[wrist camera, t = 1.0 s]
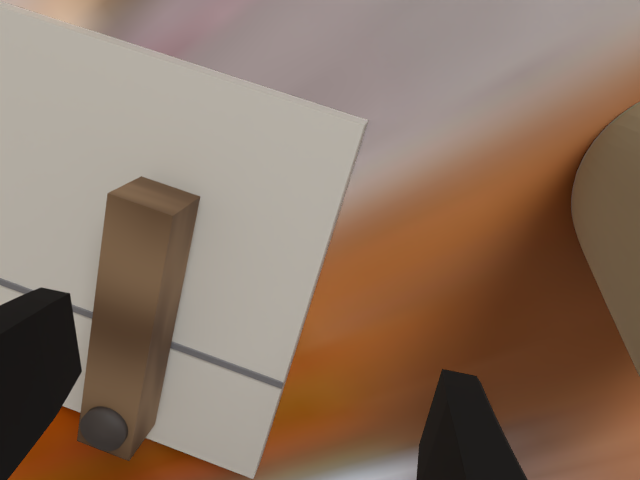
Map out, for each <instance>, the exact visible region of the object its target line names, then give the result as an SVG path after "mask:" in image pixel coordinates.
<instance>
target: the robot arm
mask: <svg viewBox="0 0 640 480" xmlns="http://www.w3.org/2000/svg"><path fill="white" fill-rule="evenodd" d="M81 372H82V368H81V362H80V355H79V349H78V342H77V336H76V329H75V322H74V316H73V309H72V303H71V296H70V293H66V292H61V291H56V290H52V289H47V288H42V287H41V288H38V289H36V290H33V291H31V292H28V293H26V294H24V295H22V296H19V297H17V298H15V299H13V300H11V301H8V302H6V303H4V304H2V305H0V480H7V479H8V478H9V477H10V475H11V474H12V473H13V472H14V470H15V469H16V468H17V467H18V465H19V464H20V463H21V461H22V460H23V459H24V458H25V456H26V455H27V454H28V452H29V451H30V450H31V448H32V447H33V446H34V445H35V443H36V442H37V441H38V439H39V438H40V437H41V435H42V434H43V433H44V431H45V430H46V429H47V427H48V426H49V425H50V423H51V422H52V421H53V419H54V418H55V417H56V415H57V413H58V412H59V410H60V408H61V407H62V405H63V404H64V402H65V400H66V399H67V397H68V395H69V393H70V392H71V390H72V388H73V386H74V385H75V383H76V381H77V379H78V378H79V376H80V374H81ZM417 480H527V478H526V476H525V474H524V472H523V470H522V468H521V466H520V465H519V463H518V461H517V459H516V457H515V455H514V453H513V451H512V449H511V447H510V445H509V443H508V441H507V439H506V437H505V435H504V433H503V431H502V429H501V427H500V425H499V422H498V420H497V418H496V416H495V414H494V412H493V409H492V407H491V405H490V403H489V401H488V398H487V396H486V394H485V391H484V389H483V387H482V384H481V382H480V381H479V379H478V378H477V376H473V375H468V374H463V373H459V372H454V371H449V370H444V369H442V372H441V375H440V378H439V382H438V385H437V388H436V391H435V395H434V398H433V401H432V405H431V408H430V411H429V415H428V418H427V421H426V424H425V428H424V431H423V434H422V438H421V441H420V444H419V455H418V468H417Z"/></svg>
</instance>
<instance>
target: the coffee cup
mask: <svg viewBox="0 0 640 480" xmlns="http://www.w3.org/2000/svg"><path fill="white" fill-rule="evenodd" d="M571 212H572V219H573V224H574V228H575V231H576V234H577V237H578V240H579V243H580V245H581V248H582V250H583V253H584V255H585V257H586V260H587V262H588V264H589V266H590V269H591V271H592V273H593V275H594V278H595V280H596V282H597V284H598V287H599V289H600V291H601V293H602V296H603V298H604V300H605V302H606V305H607V307H608V309H609V311H610V314H611V316H612V318H613V320H614V322H615V324H616V327H617V329H618V331H619V333H620V335H621V337H622V340H623V342H624V344H625V346H626V348H627V350H628V353H629V355H630V357H631V359H632V361H633V363H634V366H635V368H636V370H637V372H638V374H639V376H640V102H638V103H636V104H635V105H634V106H632V107H631V108H629V109H628V110H626V111H625V112H623V113H622V114H621V115H619V116H618V117H617V118H616V119H614V120H613V121H612V122H611V123H610V124H609V125H608V126H607V127H606V128H605V129H604V130H603V131H602V132H601V133H600V134H599V135H598V137H597V138H596V139H595V140H594V141H593V143H592V144H591V146H590V148H589V149H588V151H587V152H586V154H585V155H584V157H583V159H582V161H581V164H580V166H579V168H578V170H577V173H576V176H575V180H574V184H573V189H572V196H571Z"/></svg>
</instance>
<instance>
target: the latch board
mask: <svg viewBox="0 0 640 480" xmlns="http://www.w3.org/2000/svg"><path fill="white" fill-rule="evenodd" d="M367 124H368V120H366V119H363V118H360V117H357V116H354V115H351V114H348V113H345V112H342V111H338V110H335V109H332V108H329V107H326V106H323V105H320V104H317V103H314V102H311V101H308V100H305V99H301V98H298V97H295V96H292V95H289V94H286V93H283V92H280V91H277V90H274V89H271V88H268V87H265V86H261V85H258V84H255V83H252V82H249V81H246V80H243V79H240V78H237V77H234V76H231V75H228V74H224V73H221V72H218V71H215V70H212V69H209V68H206V67H203V66H200V65H197V64H194V63H191V62H187V61H184V60H181V59H178V58H175V57H172V56H169V55H166V54H163V53H160V52H157V51H154V50H150V49H147V48H144V47H141V46H138V45H135V44H132V43H129V42H126V41H123V40H120V39H117V38H114V37H110V36H107V35H104V34H101V33H98V32H95V31H92V30H89V29H86V28H83V27H80V26H77V25H73V24H70V23H67V22H64V21H61V20H58V19H55V18H52V17H49V16H46V15H43V14H40V13H36V12H33V11H30V10H27V9H24V8H21V7H18V6H15V5H12V4H9V3H6V2H3V1H0V305H2V304H4V303H6V302H8V301H11V300H13V299H15V298H17V297H19V296H22V295H24V294H26V293H28V292H31V291H33V290H36V289H38V288H41V287H42V288H47V289H52V290H56V291H61V292H66V293H70V296H71V303H72V309H73V316H74V322H75V329H76V336H77V342H78V349H79V355H80V362H81V368H82V372H81V374H80V376H79V378H78V379H77V381H76V383H75V385H74V386H73V388H72V390H71V392H70V393H69V395H68V397H67V399H66V400H65V402H64V404H63V405H62V406H64V407H67V408H69V409H72V410H75V411H77V412H80V413H81V405H82V397H83V389H84V381H85V373H86V364H87V356H88V348H89V340H90V332H91V324H92V315H93V307H94V299H95V291H96V283H97V275H98V267H99V258H100V250H101V242H102V234H103V226H104V218H105V210H106V201H107V193H109V192H111V191H113V190H115V189H117V188H119V187H121V186H123V185H125V184H127V183H129V182H131V181H133V180H135V179H137V178H139V177H141V176H142V177H145V178H148V179H151V180H154V181H157V182H160V183H163V184H165V185H168V186H171V187H174V188H177V189H180V190H183V191H186V192H189V193H192V194H195V195H197V196H200V201H199V206H198V211H197V216H196V221H195V226H194V231H193V236H192V241H191V246H190V252H189V257H188V262H187V267H186V272H185V277H184V282H183V287H182V292H181V297H180V302H179V307H178V312H177V317H176V322H175V327H174V332H173V337H172V342H171V347H170V352H169V357H168V362H167V367H166V372H165V377H164V382H163V387H162V392H161V397H160V402H159V407H158V412H157V417H156V422H155V425H154V427H153V428H152V429H151V431H150V432H149V434H148V435H147V436H146V438H147V439H150V440H153V441H155V442H158V443H160V444H163V445H166V446H168V447H171V448H173V449H176V450H179V451H181V452H184V453H186V454H189V455H192V456H194V457H197V458H199V459H202V460H205V461H207V462H210V463H212V464H215V465H218V466H220V467H223V468H225V469H228V470H231V471H233V472H236V473H238V474H241V475H244V476H246V477H249V478H251V479H253V478H254V476H255V473H256V471H257V469H258V466H259V464H260V461H261V458H262V455H263V452H264V449H265V445H266V442H267V439H268V436H269V433H270V430H271V426H272V423H273V420H274V417H275V414H276V411H277V408H278V404H279V401H280V398H281V395H282V392H283V389H284V385H285V382H286V379H287V376H288V373H289V370H290V367H291V363H292V360H293V357H294V354H295V351H296V348H297V344H298V341H299V338H300V335H301V332H302V329H303V325H304V322H305V319H306V316H307V313H308V310H309V307H310V303H311V300H312V297H313V294H314V291H315V288H316V284H317V281H318V278H319V275H320V272H321V269H322V266H323V262H324V259H325V256H326V253H327V250H328V247H329V243H330V240H331V237H332V234H333V231H334V228H335V225H336V221H337V218H338V215H339V212H340V209H341V206H342V202H343V199H344V196H345V193H346V190H347V187H348V183H349V180H350V177H351V174H352V171H353V168H354V165H355V161H356V158H357V155H358V152H359V149H360V146H361V142H362V139H363V136H364V133H365V130H366V127H367Z"/></svg>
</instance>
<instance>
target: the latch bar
mask: <svg viewBox="0 0 640 480" xmlns="http://www.w3.org/2000/svg"><path fill="white" fill-rule="evenodd" d="M199 201H200V196H197V195H195V194H192V193H189V192H186V191H183V190H180V189H177V188H174V187H171V186H168V185H165V184H163V183H160V182H157V181H154V180H151V179H148V178H145V177H142V176H141V177H139V178H137V179H135V180H133V181H131V182H129V183H127V184H125V185H123V186H121V187H119V188H117V189H115V190H113V191H111V192H109V193H107V201H106V210H105V218H104V226H103V234H102V242H101V250H100V258H99V267H98V275H97V283H96V291H95V299H94V307H93V315H92V324H91V332H90V340H89V348H88V356H87V364H86V373H85V381H84V389H83V397H82V405H81V413H80V421H79V430H78V438H77V441H79V442H82V443H84V444H87V445H89V446H92V447H94V448H97V449H100V450H102V451H105V452H107V453H110V454H112V455H115V456H117V457H120V458H123V459H125V460H128V461H129V460H130V459H131V457H132V456H133V455H134V453H135V452H136V450H137V449H138V448H139V446H140V445H141V443H142V442H143V441H144V439H145V438H146V436H147V435H148V434H149V432H150V431H151V429H152V428H153V427H154V425H155V422H156V417H157V412H158V407H159V402H160V397H161V392H162V387H163V382H164V377H165V372H166V367H167V362H168V357H169V352H170V347H171V342H172V337H173V332H174V327H175V322H176V317H177V312H178V307H179V302H180V297H181V292H182V287H183V282H184V277H185V272H186V267H187V262H188V257H189V252H190V246H191V241H192V236H193V231H194V226H195V221H196V216H197V211H198V206H199Z"/></svg>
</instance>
